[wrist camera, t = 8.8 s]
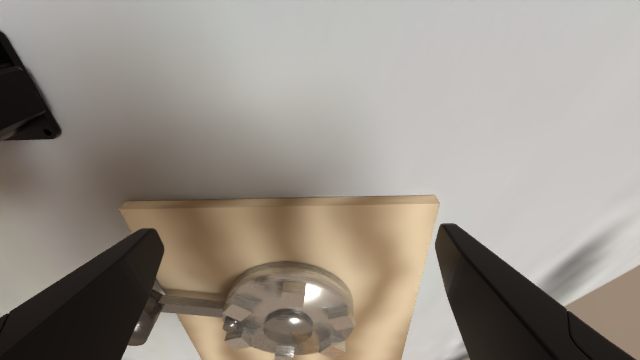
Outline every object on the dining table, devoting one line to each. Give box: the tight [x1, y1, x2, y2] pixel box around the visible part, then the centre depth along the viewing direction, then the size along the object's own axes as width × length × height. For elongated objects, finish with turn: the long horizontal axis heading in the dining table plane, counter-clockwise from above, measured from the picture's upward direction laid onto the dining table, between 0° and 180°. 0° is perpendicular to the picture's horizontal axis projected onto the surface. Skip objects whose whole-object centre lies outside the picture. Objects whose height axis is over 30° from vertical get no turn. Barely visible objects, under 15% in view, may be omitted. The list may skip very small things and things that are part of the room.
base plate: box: [119, 195, 440, 360], centre depth 28 cm, size 30×24×2 cm
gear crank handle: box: [128, 262, 355, 360], centre depth 26 cm, size 20×12×4 cm, turn 82°
